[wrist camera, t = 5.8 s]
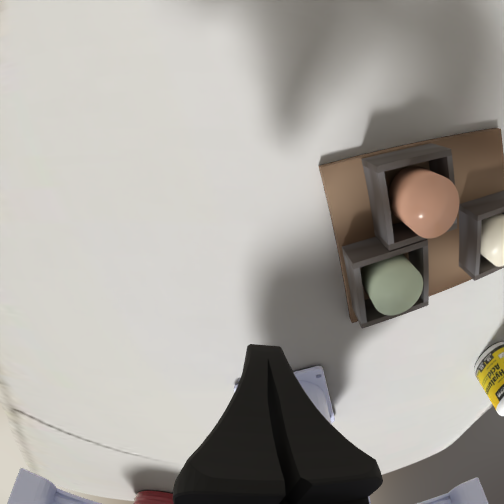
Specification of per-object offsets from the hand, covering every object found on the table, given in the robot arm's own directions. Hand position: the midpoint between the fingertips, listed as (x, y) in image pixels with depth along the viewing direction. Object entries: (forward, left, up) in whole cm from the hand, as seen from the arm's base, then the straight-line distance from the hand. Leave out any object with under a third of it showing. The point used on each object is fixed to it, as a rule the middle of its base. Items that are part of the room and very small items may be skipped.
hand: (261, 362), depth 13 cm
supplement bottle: (-21, -23, -9) cm, 32 cm away
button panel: (-1, -13, -9) cm, 16 cm away
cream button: (-2, -18, -8) cm, 20 cm away
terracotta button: (+2, -11, -7) cm, 13 cm away
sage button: (-3, -8, -8) cm, 12 cm away
